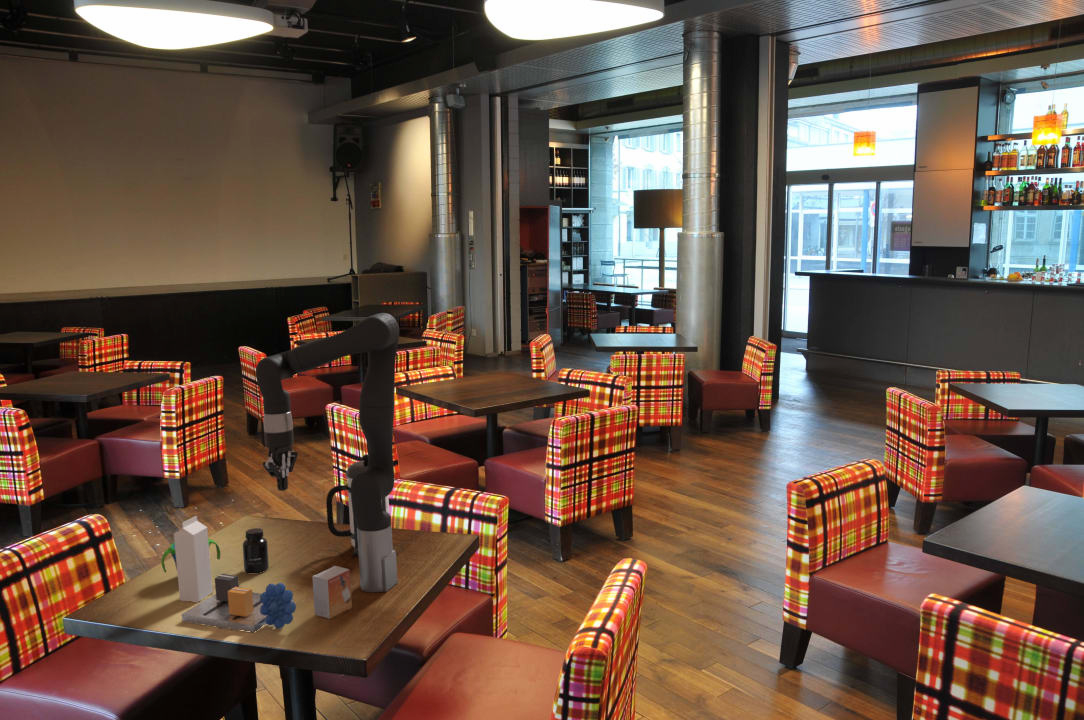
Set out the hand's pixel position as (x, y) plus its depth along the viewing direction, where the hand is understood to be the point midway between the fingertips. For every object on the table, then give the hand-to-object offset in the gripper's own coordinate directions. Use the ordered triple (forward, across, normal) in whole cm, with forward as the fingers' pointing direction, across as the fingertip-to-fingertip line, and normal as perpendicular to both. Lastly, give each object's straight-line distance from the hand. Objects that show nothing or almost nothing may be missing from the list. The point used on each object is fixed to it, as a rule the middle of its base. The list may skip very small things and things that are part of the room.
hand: (283, 489), depth 227 cm
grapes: (+27, -23, -14) cm, 39 cm away
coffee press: (+27, +28, -8) cm, 40 cm away
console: (+27, -20, +1) cm, 34 cm away
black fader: (+25, -18, +6) cm, 31 cm away
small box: (+27, -12, -22) cm, 37 cm away
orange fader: (+25, -24, -3) cm, 34 cm away
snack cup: (+27, -4, +30) cm, 41 cm away
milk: (+27, -15, +19) cm, 36 cm away
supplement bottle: (+27, +5, +15) cm, 31 cm away
